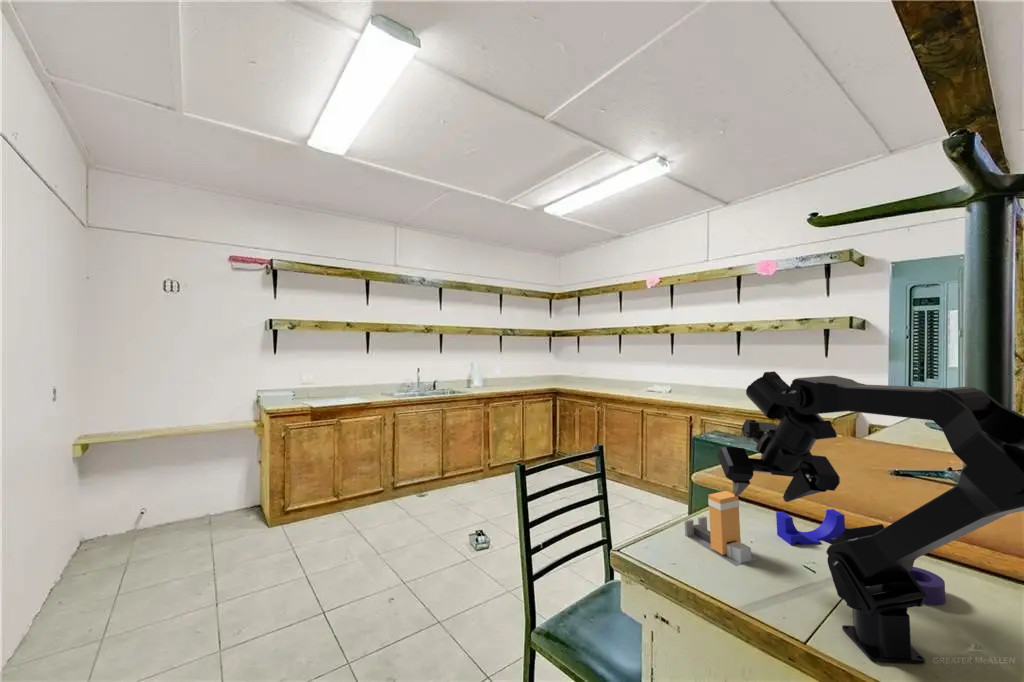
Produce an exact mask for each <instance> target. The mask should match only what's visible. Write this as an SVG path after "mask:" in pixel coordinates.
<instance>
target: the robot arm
mask: <svg viewBox="0 0 1024 682" xmlns="http://www.w3.org/2000/svg"><path fill="white" fill-rule="evenodd" d="M745 395H746V397H747V398H749V400H750V401H751V402H752V403H753V404H754V405H755V406H756V407H757V409H758V410H759V411H760V412H762V413H763V415H764V417H766V418H767V419H769V420H779V422H778V424H777V423H772V422H763V421H756V420H755V419H748V418H747V419H745V421H744V422H743V425H742V428H741V434H742V435H743V436H744V437H745V439H750V440H753V441H754V442H755V443H756V446H755V449H756V451H757V453H758V454H761V455H760V458H753V457H752V458H751V457H749V455H748V453H747V452H746V451H747V450H746V449H745V448H743V447H734V446H721V447H720V449H719V450H718V452H717V458H718V460H719V463H720V466H721V468H722V471H723V474H724V475H725V478H727V479H728V480H730V481H732V492H733V494H734V496H736V497H737V496H738V497H739V496H740V495H741V494H742V493H743V492H744V491H745V490H746V489H747V488H748V487H749V486H750V484H751V481H750V480H752V478H753V477H754V473H761V474H770V475H771V476H772V475H773V476H779V477H780V476H781V477H782V476H783V477H789V478H790V477H792V479H791V481H790V482H789V484H788V486H787V488H786V489H785V491H784V494H783V497H782V498H783V501H784V502H786V503H788V502H792V501H795V500H797V499H800V498H804V497H808V496H811V495H815V494H819V493H826V492H827V491H836V490H837V488H838V486H839V485H840V484H841V477H840V476H839V474H838V473H837V471H836V469H835V468H834V466H833V465H832V463H831V461H830V460H829V458H827V456H825V455H824V456H823V455H814V454H812V453H811V450H812V449H813V446H814V445H815V443H816V442H817V440H826V439H836V438H837V437H838V435H837V432H836V431H837V430H835V428H834V427H833V424H832V421H831V420H825V419H824V417H822V416H821V415H820V414H831V413H832V414H833V413H843V412H845V413H846V412H853V413H861V414H870V415H879V416H887V417H888V416H889V417H898V418H899V417H900V418H904V419H906V418H907V419H917V420H924V421H925V420H926V421H933V422H934V423H935V424H936V425H937V426H938V427H940V429H941V430H942V432H943V434H944V436H945V439H946V440H947V442H948V444H949V446H950V449H951V451H952V453H954V454H955V456H957V457H958V458H959V459H960V460H961V461H962V462H963V463H964V464H965V466H963V468H962V469H961V471H960V473H959V477H958V481H957V483H956V484H955V485H954V486H953V487H952V488H950V489H948V490H946V491H945V492H943V493H941V494H939V495H937V497H934V498H933V499H930V501H928V502H927V503H925V504H923V505H921V506H919V507H917V508H915V509H914V510H913V511H910V512H909V513H908V514H906V515H904V516H902V517H901V518H899V519H898V520H896V521H894V522H892V523H890V524H888V526H886V527H885V526H884V525H883V524H882V523H879V524H873V525H866V526H859V527H853V528H852V527H851V528H847V529H845V531H844V532H842V534H841V535H840V536H839V537H838V538H833V539H829V541H830V542H831V543H832V544H830V545H829V546H828V547H827V548H826V555H827V565H828V569H829V572H830V575H831V578H832V580H833V584H834V588H835V590H836V594H837V596H838V597H839V598H840V599H842V600H843V601H845V603H846V606H848V607H849V608H851V609H852V610H851V611H852V623H853V625H846V624H845V625H842V626H841V628H842V631H843V632H844V633H845V634H846V636H848V637H849V638H850V640H852V641H853V643H854V644H855V645H856V646H857V647H858V648H859V649H860V650H861V651H862V653H863V654H865V656H866V657H867V658H868V659H869V660H871V661H872V662H877V663H878V662H879V663H880V662H881V663H882V662H884V663H901V664H902V663H903V664H904V663H905V664H925V663H926V659H925V657H924V656H923V655H922V654H921V653H919V651H918V650H916V649H915V648H914V647H913V646H912V643H911V641H912V639H911V638H912V637H911V621H910V620H911V618H910V614H908V609H909V608H913V607H914V608H915V607H917V608H919V607H923V606H924V605H925V604H924V602H925V600H926V597H927V595H926V593H925V592H924V590H923V589H922V588H921V586H920V585H919V584H918V582H917V581H916V580H915V578H914V577H913V576H912V574H911V573H910V571H911V570H912V568H913V567H914V564H915V561H916V560H917V559H918V558H920V557H922V556H924V555H926V554H928V553H930V552H932V551H936V549H939V548H941V547H942V546H945V545H948V544H949V543H952V542H953V541H956V540H957V539H960V538H962V537H964V536H967V535H968V534H970V533H972V532H975V531H976V530H978V529H980V528H981V529H982V528H983V527H984V526H987V525H989V524H991V523H993V522H995V521H997V520H999V519H1001V518H1003V517H1005V516H1007V515H1010V514H1014V513H1020V512H1024V415H1023V414H1020V413H1019V412H1017V411H1014V410H1012V409H1011V408H1008V407H1007V406H1004V405H1003V404H1002V403H1000V402H998V401H997V400H996V399H995V398H994V397H992V396H991V395H990V394H988V393H987V392H985V391H983V390H981V389H978V388H976V387H973V386H958V387H936V386H935V387H933V386H932V387H931V386H913V385H912V386H909V385H907V386H905V385H886V384H884V385H883V384H865V383H861V382H858V381H856V380H853V379H851V378H847V377H842V376H838V375H822V376H821V375H820V376H811V377H810V376H807V377H798V378H794V379H793V380H792V381H791V384H790V385H789V384H787V382H785V381H784V379H782V377H781V376H780V375H779V374H778V372H776V371H764V372H763V375H762V376H760V377H758V378H757V379H755V380H754V381H753V382H751V383H750V384H749V385H748V386H747V387H746V390H745ZM985 433H986V434H988V435H990V436H991V437H994V438H996V439H998V440H1000V441H1001V442H1003V444H997V443H996V442H995V441H994V439H991V438H990V437H989V436H988V435H986V434H985ZM880 584H881V585H880ZM874 585H875V586H874Z"/></svg>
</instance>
